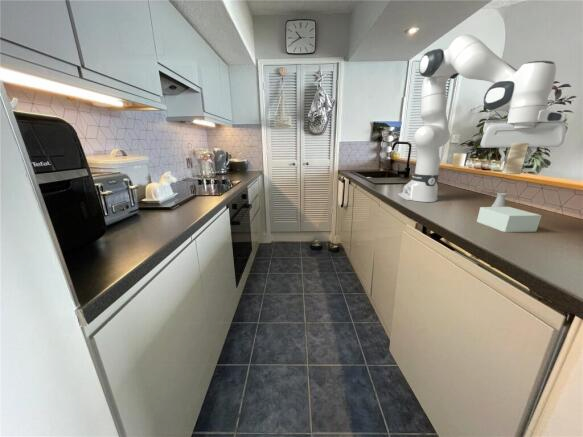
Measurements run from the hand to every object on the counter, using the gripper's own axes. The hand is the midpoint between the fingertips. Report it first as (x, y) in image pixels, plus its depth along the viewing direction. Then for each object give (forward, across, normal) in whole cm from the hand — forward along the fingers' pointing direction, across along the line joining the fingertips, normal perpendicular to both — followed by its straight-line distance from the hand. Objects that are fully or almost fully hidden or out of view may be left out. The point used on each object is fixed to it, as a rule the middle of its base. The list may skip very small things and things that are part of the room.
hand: (514, 161), depth 80 cm
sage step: (+24, +3, +4) cm, 24 cm away
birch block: (+4, 0, 0) cm, 4 cm away
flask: (+24, +3, +20) cm, 31 cm away
